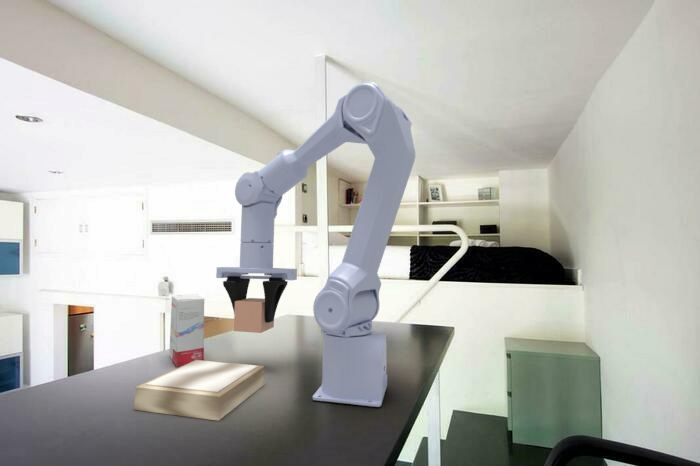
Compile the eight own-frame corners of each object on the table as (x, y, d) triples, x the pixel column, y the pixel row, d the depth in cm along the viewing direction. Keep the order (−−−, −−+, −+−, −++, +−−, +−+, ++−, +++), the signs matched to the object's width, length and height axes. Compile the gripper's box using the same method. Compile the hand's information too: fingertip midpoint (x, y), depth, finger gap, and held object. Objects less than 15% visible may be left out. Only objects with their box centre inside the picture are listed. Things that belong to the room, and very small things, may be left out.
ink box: (204, 363, 63) (207, 298, 64) (173, 368, 60) (176, 299, 61) (195, 352, 70) (198, 293, 71) (167, 355, 67) (170, 294, 68)
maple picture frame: (264, 384, 53) (264, 364, 53) (218, 420, 41) (219, 394, 42) (195, 377, 56) (195, 358, 56) (134, 409, 44) (135, 385, 44)
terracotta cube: (273, 327, 62) (274, 299, 63) (260, 332, 57) (261, 302, 58) (248, 325, 63) (249, 298, 64) (233, 331, 58) (234, 301, 59)
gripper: (303, 244, 64) (301, 318, 63) (232, 243, 67) (229, 314, 66) (289, 242, 57) (286, 326, 56) (210, 242, 60) (207, 321, 59)
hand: (254, 320), depth 60 cm, fingers closed on terracotta cube, 5 cm apart
